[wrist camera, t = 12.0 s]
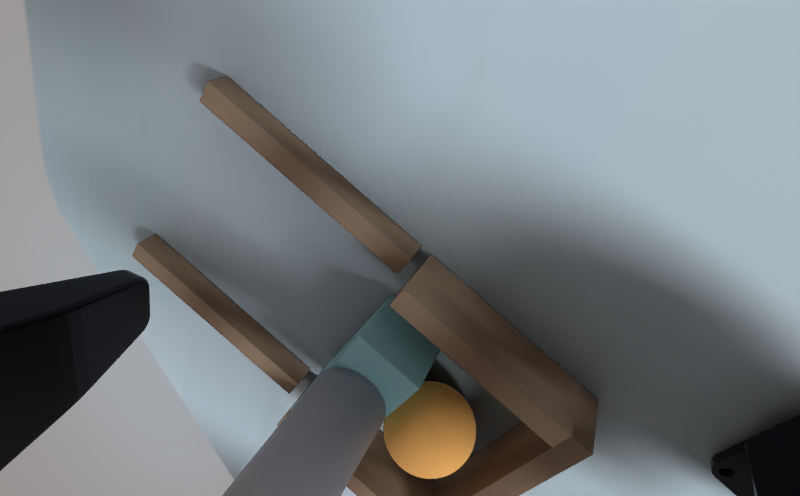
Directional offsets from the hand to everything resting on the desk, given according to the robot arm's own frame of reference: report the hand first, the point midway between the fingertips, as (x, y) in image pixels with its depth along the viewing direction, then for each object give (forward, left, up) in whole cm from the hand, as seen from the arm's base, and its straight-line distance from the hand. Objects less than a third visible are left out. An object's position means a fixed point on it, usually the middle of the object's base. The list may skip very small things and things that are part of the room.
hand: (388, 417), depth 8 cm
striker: (-1, +11, -13) cm, 17 cm away
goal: (+1, +11, -13) cm, 17 cm away
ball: (-5, +11, -11) cm, 16 cm away
